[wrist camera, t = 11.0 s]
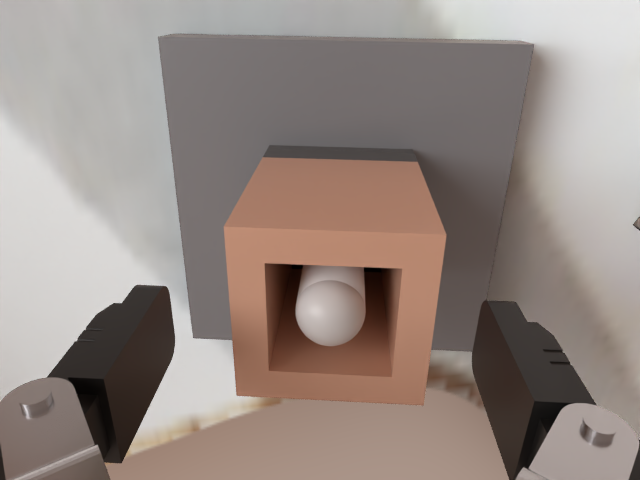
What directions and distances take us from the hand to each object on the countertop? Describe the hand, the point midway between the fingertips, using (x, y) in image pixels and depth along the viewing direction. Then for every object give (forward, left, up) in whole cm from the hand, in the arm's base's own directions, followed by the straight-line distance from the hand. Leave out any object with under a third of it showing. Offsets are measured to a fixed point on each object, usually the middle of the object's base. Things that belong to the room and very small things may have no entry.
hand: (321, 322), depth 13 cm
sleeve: (0, 0, -7) cm, 7 cm away
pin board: (0, 0, -8) cm, 8 cm away
